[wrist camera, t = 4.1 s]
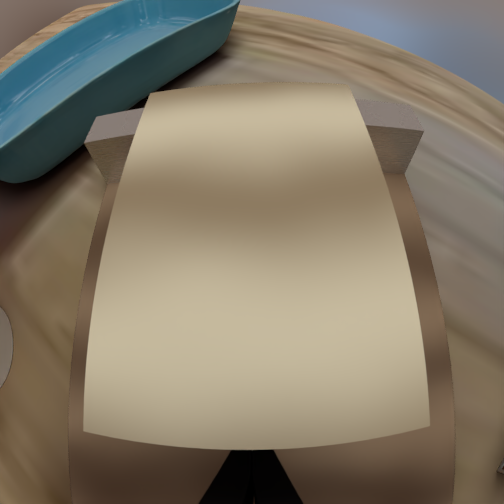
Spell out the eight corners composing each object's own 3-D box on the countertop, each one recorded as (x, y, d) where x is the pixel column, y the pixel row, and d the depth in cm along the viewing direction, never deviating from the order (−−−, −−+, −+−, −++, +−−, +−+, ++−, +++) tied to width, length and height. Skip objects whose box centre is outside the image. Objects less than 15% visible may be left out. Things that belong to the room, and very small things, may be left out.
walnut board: (430, 564, 8) (440, 572, 7) (96, 569, 9) (85, 577, 8) (386, 156, 22) (392, 143, 20) (124, 165, 22) (117, 152, 21)
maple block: (347, 417, 13) (430, 426, 5) (173, 421, 13) (83, 430, 6) (323, 199, 18) (347, 84, 11) (187, 204, 18) (150, 93, 11)
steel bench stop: (404, 174, 19) (424, 130, 15) (107, 183, 20) (84, 142, 16) (394, 147, 20) (410, 105, 17) (116, 157, 21) (96, 116, 17)
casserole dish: (160, 18, 39) (152, -17, 33) (276, 38, 32) (276, -12, 26) (-35, 165, 26) (-62, 130, 20) (9, 256, 19) (-47, 207, 13)
